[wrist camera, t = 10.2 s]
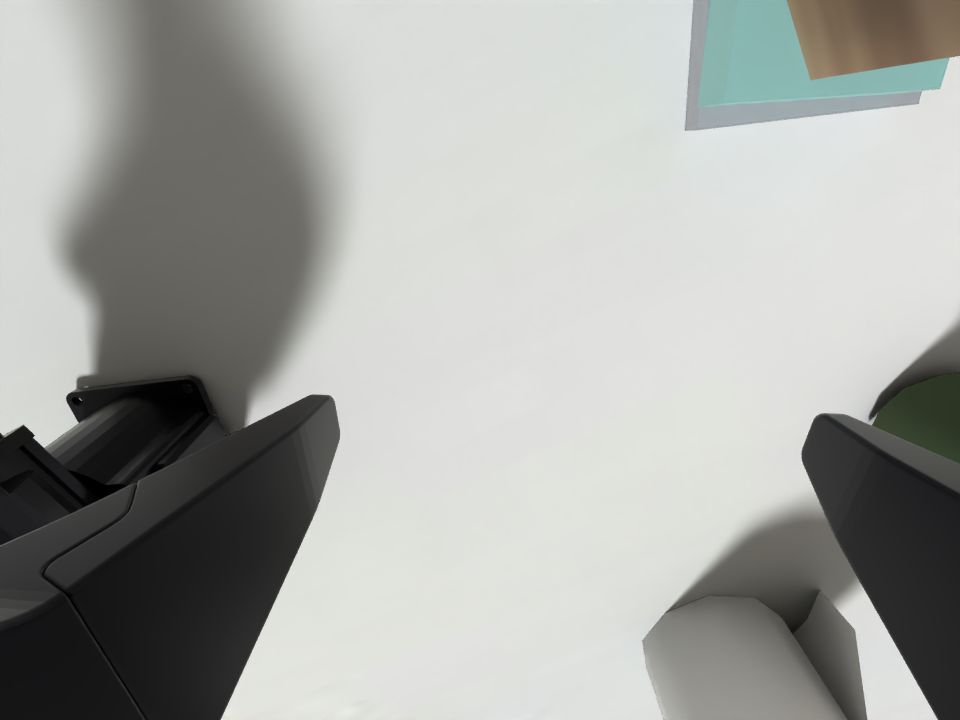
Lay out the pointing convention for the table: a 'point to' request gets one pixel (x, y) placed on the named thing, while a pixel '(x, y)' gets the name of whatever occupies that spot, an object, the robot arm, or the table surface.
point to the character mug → (926, 415)
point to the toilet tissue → (754, 663)
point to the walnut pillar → (874, 33)
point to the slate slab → (773, 110)
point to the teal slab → (785, 61)
